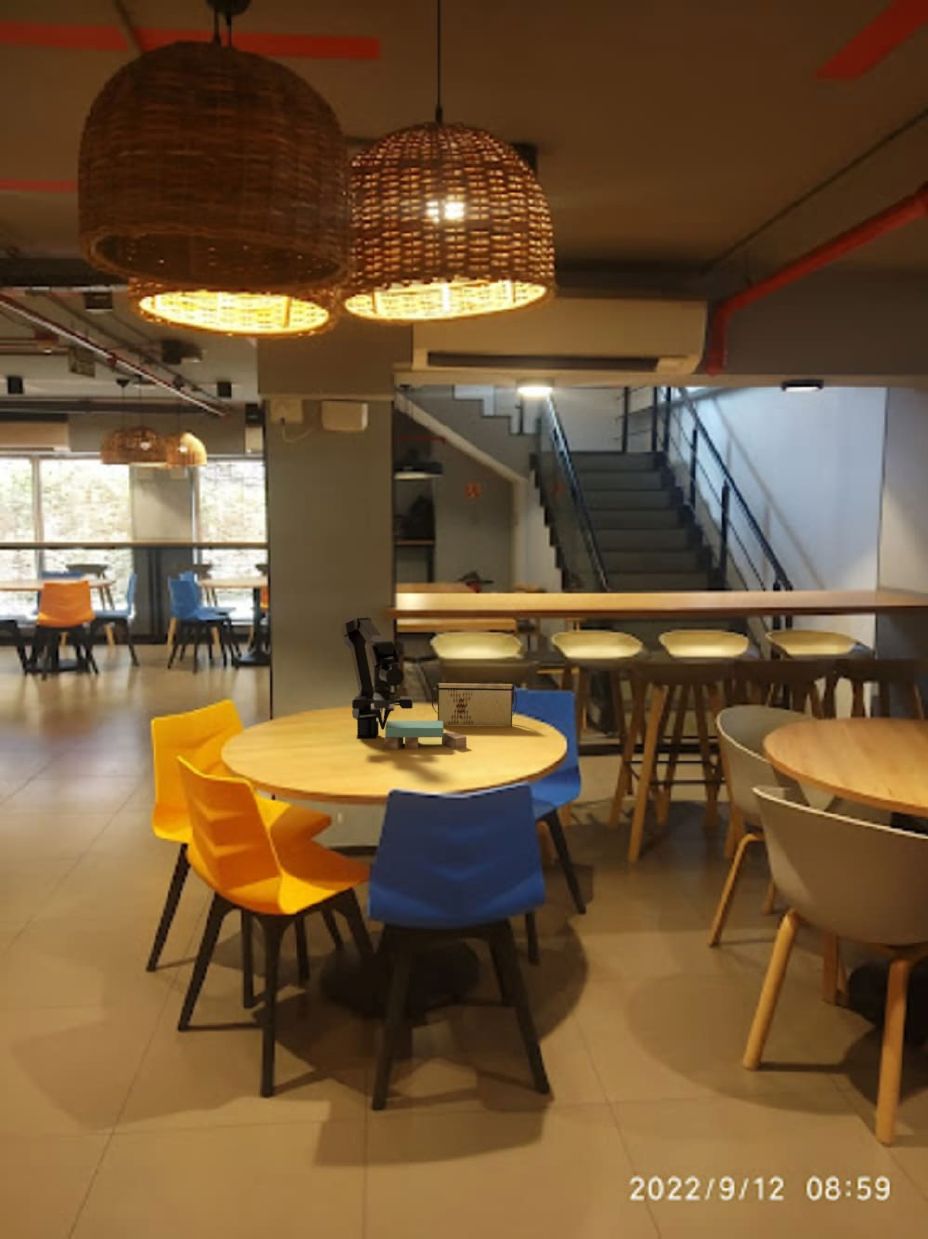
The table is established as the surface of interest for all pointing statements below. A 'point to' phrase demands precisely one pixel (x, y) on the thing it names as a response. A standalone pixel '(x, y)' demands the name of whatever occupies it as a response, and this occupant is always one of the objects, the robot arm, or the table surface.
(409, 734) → the slab
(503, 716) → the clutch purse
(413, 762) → the table surface
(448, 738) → the block
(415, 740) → the block
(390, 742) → the block
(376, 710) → the robot arm
